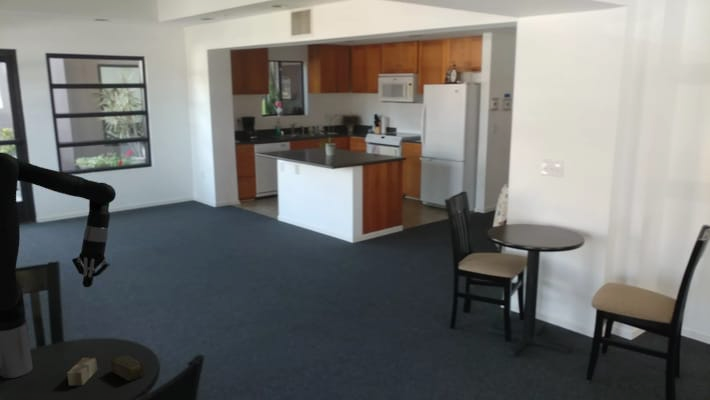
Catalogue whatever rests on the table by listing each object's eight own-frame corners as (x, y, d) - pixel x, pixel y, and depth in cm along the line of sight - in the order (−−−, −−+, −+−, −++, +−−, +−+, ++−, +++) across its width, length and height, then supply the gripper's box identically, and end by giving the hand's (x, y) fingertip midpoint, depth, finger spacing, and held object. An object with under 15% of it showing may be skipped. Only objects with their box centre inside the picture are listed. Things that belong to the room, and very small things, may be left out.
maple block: (84, 369, 191) (68, 385, 181) (83, 357, 190) (67, 372, 180) (97, 369, 191) (82, 385, 181) (95, 357, 190) (80, 373, 180)
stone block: (130, 383, 182) (128, 369, 181) (110, 373, 189) (109, 360, 188) (145, 375, 187) (144, 362, 186) (126, 366, 193) (124, 353, 192)
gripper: (71, 236, 192) (63, 285, 193) (109, 243, 193) (101, 292, 193) (81, 234, 200) (73, 281, 200) (118, 241, 200) (110, 288, 201)
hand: (87, 286), depth 197 cm, fingers closed
